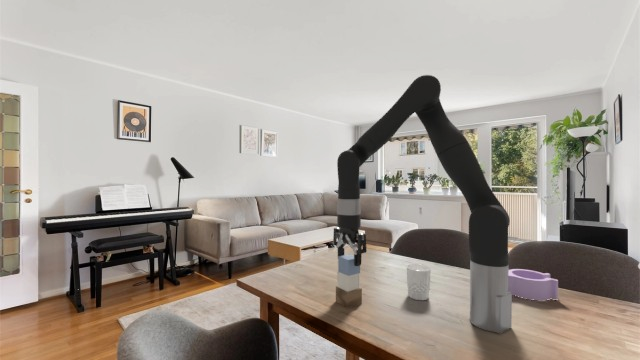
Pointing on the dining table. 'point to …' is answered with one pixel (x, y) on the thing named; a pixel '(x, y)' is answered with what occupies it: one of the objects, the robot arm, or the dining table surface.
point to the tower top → (348, 282)
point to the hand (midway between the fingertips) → (348, 262)
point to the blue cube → (347, 265)
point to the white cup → (418, 281)
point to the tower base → (348, 297)
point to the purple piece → (532, 284)
